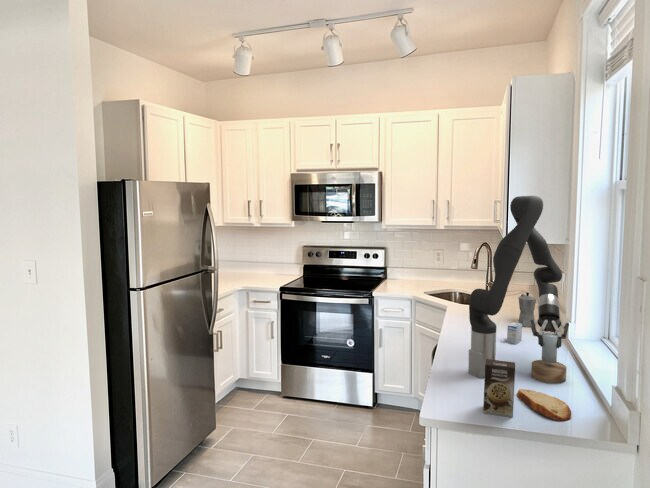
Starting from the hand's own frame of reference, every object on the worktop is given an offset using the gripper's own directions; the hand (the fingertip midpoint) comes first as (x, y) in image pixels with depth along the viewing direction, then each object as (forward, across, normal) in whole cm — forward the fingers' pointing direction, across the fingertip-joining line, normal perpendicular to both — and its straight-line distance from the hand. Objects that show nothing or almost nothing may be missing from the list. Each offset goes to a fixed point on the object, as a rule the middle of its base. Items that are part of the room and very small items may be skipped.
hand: (550, 346), depth 179 cm
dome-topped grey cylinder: (+3, 0, +6) cm, 6 cm away
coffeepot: (-48, -5, +66) cm, 82 cm away
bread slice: (+28, -4, -10) cm, 30 cm away
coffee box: (+35, -17, -16) cm, 42 cm away
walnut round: (+8, 0, +10) cm, 13 cm away
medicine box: (-23, -12, +41) cm, 49 cm away
